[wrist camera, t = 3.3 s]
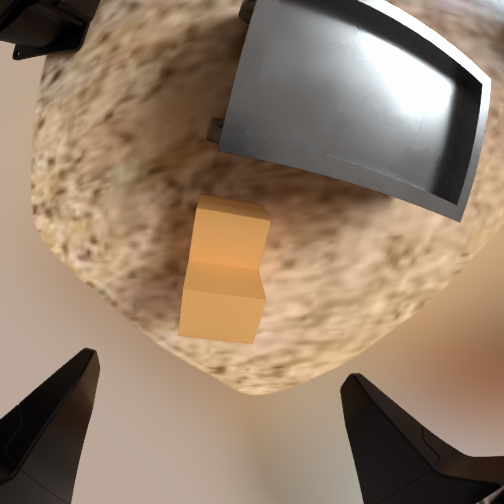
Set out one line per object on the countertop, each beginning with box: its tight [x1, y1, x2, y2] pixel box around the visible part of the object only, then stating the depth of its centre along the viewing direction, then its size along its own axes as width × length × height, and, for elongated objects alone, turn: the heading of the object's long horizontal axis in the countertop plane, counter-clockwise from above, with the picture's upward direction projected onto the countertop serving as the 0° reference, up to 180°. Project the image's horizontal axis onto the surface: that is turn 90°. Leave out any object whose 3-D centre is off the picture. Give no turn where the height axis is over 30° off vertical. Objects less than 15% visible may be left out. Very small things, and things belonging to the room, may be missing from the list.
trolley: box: [206, 0, 491, 222], centre depth 12 cm, size 14×9×7 cm, turn 77°
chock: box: [178, 194, 271, 344], centre depth 16 cm, size 6×4×6 cm, turn 167°
